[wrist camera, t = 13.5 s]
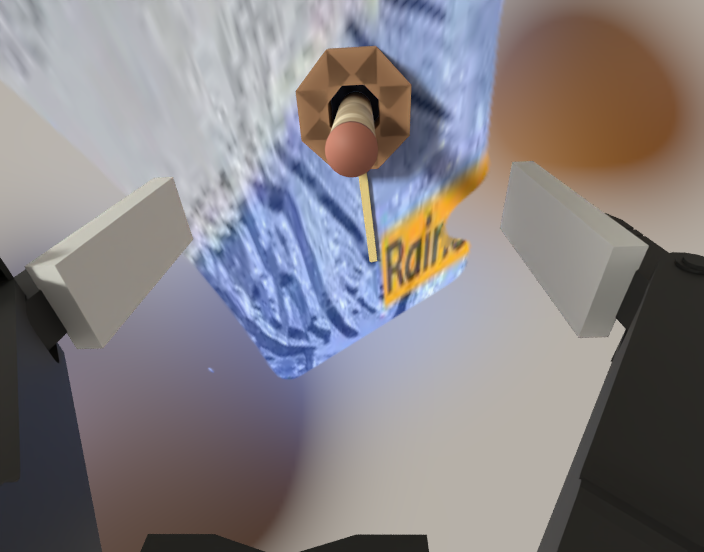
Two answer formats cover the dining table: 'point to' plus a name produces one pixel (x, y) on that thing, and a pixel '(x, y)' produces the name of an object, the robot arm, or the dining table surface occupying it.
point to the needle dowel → (352, 137)
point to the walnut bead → (355, 70)
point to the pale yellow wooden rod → (368, 216)
